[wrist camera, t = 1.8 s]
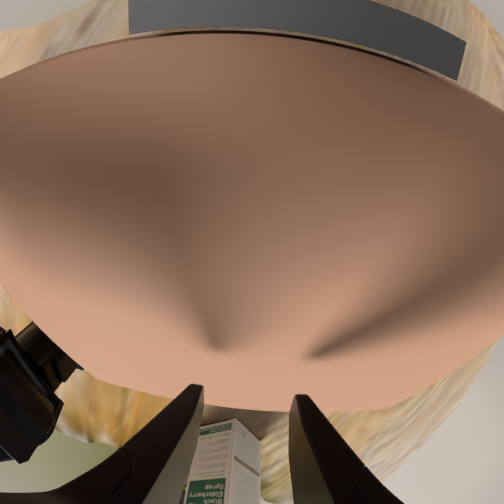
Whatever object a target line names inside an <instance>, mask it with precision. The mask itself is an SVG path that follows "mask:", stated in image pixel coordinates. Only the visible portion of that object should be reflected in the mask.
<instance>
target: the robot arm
mask: <svg viewBox="0 0 504 504" xmlns="http://www.w3.org/2000/svg"><path fill="white" fill-rule="evenodd" d="M76 368H77V369H80V370H84V368H83V367H81V366H80V365H79V364H78V363H77V362H75V361H74V360H73V359H72V358H71V357H70V356H69V355H67V354H66V353H65V352H64V351H63V350H62V349H61V348H60V347H59V346H58V345H56V344H55V343H54V342H53V341H52V340H51V339H50V338H49V337H48V336H47V335H46V334H45V333H44V332H43V331H42V330H41V329H40V328H39V327H38V326H37V325H36V324H35V323H34V322H33V321H32V322H31V323H30V324H29V325H28V326H27V327H25V328H24V329H23V330H22V331H21V332H20V333H18V334H17V335H16V336H15V337H14V335H13V332H12V330H11V329H9V330H7V331H5V329H3V328H2V327H0V462H3V461H10V460H15V461H16V462H17V463H18V464H21V463H23V462H26V461H28V460H29V459H30V457H31V455H32V454H33V452H34V451H35V449H36V448H37V446H39V445H41V444H43V443H44V442H45V441H46V440H47V439H48V438H49V437H50V436H51V434H52V433H53V431H54V428H55V425H56V423H57V420H58V417H59V415H60V412H61V409H62V407H63V404H64V403H63V401H62V400H61V399H59V398H58V397H57V395H56V394H55V393H54V392H55V390H56V389H57V388H58V387H59V385H60V384H61V383H62V382H66V381H67V379H68V378H69V377H70V376H71V374H72V373H73V372H74V370H75V369H76ZM203 408H204V386H203V385H200V384H193V383H191V384H190V385H188V386H187V387H186V388H185V389H184V390H183V391H182V392H181V393H180V394H179V395H178V396H177V397H176V398H175V399H174V400H173V401H172V402H170V403H169V404H168V405H167V406H166V407H165V408H164V409H163V410H162V411H161V412H160V413H159V414H157V415H156V416H155V417H154V418H153V419H152V420H151V421H150V422H149V423H148V424H146V425H145V426H144V427H143V428H142V429H141V430H140V431H139V432H137V433H136V434H135V435H134V436H133V437H132V438H131V439H130V440H128V441H127V442H126V443H125V444H124V446H121V447H120V448H119V449H118V450H117V451H116V452H114V453H113V454H112V455H111V456H109V457H108V458H107V459H105V460H104V461H103V462H102V463H100V464H98V465H97V466H95V467H94V468H92V469H91V470H89V471H87V472H86V473H84V474H82V475H81V476H79V477H77V478H75V479H74V480H72V481H70V482H68V483H67V484H65V485H63V486H61V487H59V488H57V489H54V490H51V491H47V492H36V493H2V492H0V504H179V501H180V498H181V495H182V491H183V488H184V485H185V482H186V479H187V476H188V473H189V470H190V467H191V464H192V460H193V457H194V454H195V451H196V447H197V443H198V438H199V432H200V426H201V420H202V414H203ZM289 464H290V473H291V482H292V490H293V499H294V504H404V503H403V502H402V501H400V500H399V499H398V498H397V497H396V496H395V495H393V494H392V493H391V492H390V491H389V490H388V489H387V488H386V487H385V486H383V484H382V483H381V482H380V481H379V480H378V479H377V478H376V477H375V476H374V475H373V474H372V472H371V471H370V470H369V469H368V468H367V467H366V466H365V464H364V463H363V462H362V461H361V460H360V458H359V457H358V456H357V455H356V454H355V452H354V451H353V450H352V449H351V448H350V446H349V445H348V444H347V443H346V442H345V440H344V439H343V438H342V437H341V435H340V434H339V433H338V432H337V431H336V429H335V428H334V427H333V426H332V424H331V423H330V422H329V421H328V419H327V418H326V417H325V416H324V414H323V413H322V412H321V410H320V409H319V408H318V407H317V405H316V404H315V403H314V402H313V400H312V399H311V398H310V396H309V395H307V394H295V395H294V398H293V401H292V405H291V408H290V412H289ZM364 466H365V467H364Z"/></svg>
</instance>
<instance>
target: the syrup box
mask: <svg viewBox="0 0 504 504" xmlns="http://www.w3.org/2000/svg"><path fill="white" fill-rule="evenodd" d="M260 474H261V443H260V441H259V440H258V439H257V438H256V437H255V436H254V435H253V434H252V433H251V432H250V431H249V430H248V429H247V428H246V427H245V426H244V425H243V424H242V423H241V422H240V421H239V420H238V419H237V418H232V419H230V420H227V421H224V422H219V423H215V424H210V425H206V426H202V427H200V432H199V438H198V443H197V447H196V451H195V454H194V457H193V460H192V464H191V467H190V470H189V473H188V476H187V479H186V482H185V485H184V488H183V491H182V495H181V498H180V501H179V504H260Z"/></svg>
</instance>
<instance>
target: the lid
mask: <svg viewBox="0 0 504 504" xmlns="http://www.w3.org/2000/svg"><path fill="white" fill-rule="evenodd" d="M189 27H253V28H267V29H277V30H286V31H294V32H301V33H307V34H313V35H319V36H324V37H329V38H334V39H339V40H343V41H347V42H352V43H355V44H359V45H363V46H367V47H370V48H374V49H377V50H380V51H384V52H387V53H390V54H393V55H396V56H399V57H401V58H404V59H407V60H410V61H412V62H415V63H417V64H420V65H422V66H425V67H427V68H430V69H432V70H434V71H437V72H439V73H441V74H443V75H445V76H447V77H450V78H452V79H454V80H456V81H457V78H458V74H459V71H460V67H461V63H462V59H463V54H464V50H465V45H466V42H465V41H463V40H461V39H459V38H458V37H456V36H454V35H452V34H450V33H448V32H446V31H444V30H442V29H440V28H438V27H436V26H434V25H432V24H430V23H428V22H425V21H423V20H421V19H419V18H416V17H414V16H411V15H409V14H406V13H404V12H401V11H399V10H396V9H393V8H390V7H388V6H385V5H382V4H379V3H375V2H372V1H369V0H129V34H135V33H142V32H148V31H156V30H165V29H175V28H189ZM0 284H1V285H2V286H3V288H4V289H5V290H6V291H7V293H8V294H9V295H10V296H11V297H12V298H13V300H14V301H15V302H16V303H17V304H18V305H19V307H20V308H21V309H22V310H23V311H24V312H25V313H26V314H27V315H28V316H29V318H30V319H31V320H32V321H33V322H34V323H35V324H36V325H37V326H38V327H39V328H40V329H41V330H42V331H43V332H44V333H45V334H46V335H47V336H48V337H49V338H50V339H51V340H52V341H53V342H54V343H55V344H56V345H58V346H59V347H60V348H61V349H62V350H63V351H64V352H65V353H66V354H67V355H69V356H70V357H71V358H72V359H73V360H74V361H75V362H77V363H78V364H79V365H80V366H81V367H83V368H84V369H85V370H86V371H87V372H89V373H90V374H91V375H92V376H94V377H95V378H96V379H98V380H101V381H104V382H107V383H111V384H114V385H118V386H121V387H125V388H129V389H132V390H136V391H140V392H144V393H149V394H153V395H158V396H162V397H167V398H172V399H175V398H176V397H177V396H178V395H179V394H180V393H181V392H182V391H183V390H184V389H185V388H186V387H187V386H188V385H190V384H191V383H193V384H200V385H203V386H204V404H206V405H213V406H221V407H229V408H238V409H248V410H260V411H276V412H290V408H291V405H292V401H293V398H294V395H295V394H307V395H309V396H310V398H311V399H312V400H313V402H314V403H315V404H316V405H317V407H318V408H319V409H320V410H321V412H351V411H366V410H378V409H387V408H389V407H391V406H393V405H395V404H397V403H399V402H401V401H403V400H405V399H407V398H409V397H411V396H413V395H414V394H416V393H418V392H420V391H422V390H423V389H425V388H427V387H429V386H430V385H432V384H434V383H435V382H437V381H439V380H440V379H442V378H443V377H445V376H447V375H448V374H450V373H451V372H453V371H454V370H456V369H457V368H459V367H460V366H462V365H463V364H465V363H466V362H467V361H469V360H470V359H472V358H473V357H474V356H476V355H477V354H479V353H480V352H481V351H483V350H484V349H485V348H486V347H488V346H489V345H490V344H492V343H493V342H494V341H495V340H497V339H498V338H499V337H500V336H501V335H503V334H504V111H503V110H501V109H500V108H498V107H496V106H495V105H493V104H491V103H490V102H488V101H486V100H485V99H483V98H481V97H479V96H478V95H476V94H474V93H472V92H470V91H468V90H466V89H464V88H462V87H461V86H459V85H457V84H454V83H452V82H450V81H448V80H446V79H444V78H442V77H439V76H437V75H435V74H433V73H430V72H428V71H425V70H423V69H421V68H418V67H415V66H413V65H410V64H407V63H405V62H402V61H399V60H396V59H393V58H390V57H387V56H384V55H381V54H377V53H374V52H371V51H367V50H363V49H360V48H356V47H352V46H348V45H344V44H339V43H335V42H330V41H325V40H319V39H314V38H308V37H301V36H294V35H287V34H278V33H268V32H254V31H230V30H210V31H185V32H172V33H162V34H153V35H146V36H139V37H133V38H127V39H121V40H116V41H111V42H106V43H102V44H98V45H94V46H90V47H86V48H82V49H78V50H75V51H72V52H68V53H65V54H62V55H59V56H56V57H53V58H50V59H47V60H44V61H42V62H39V63H36V64H34V65H31V66H29V67H26V68H24V69H21V70H19V71H17V72H15V73H12V74H10V75H8V76H6V77H4V78H2V79H0Z"/></svg>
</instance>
